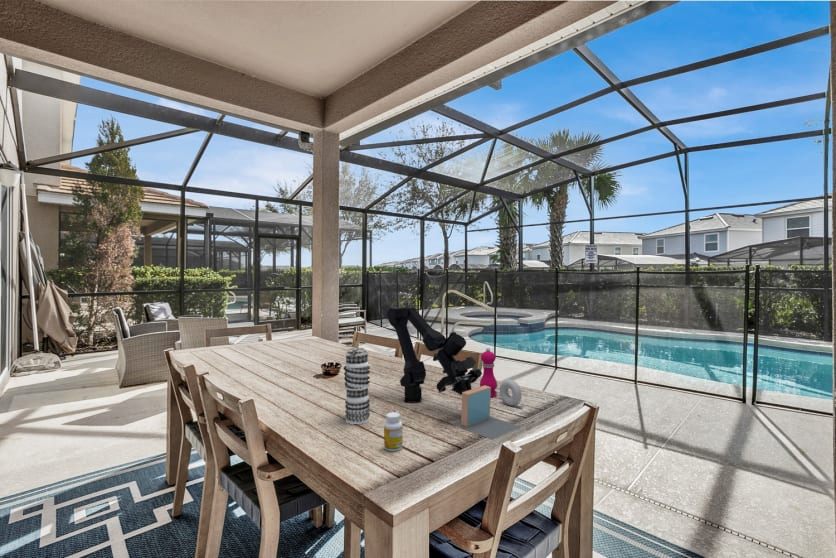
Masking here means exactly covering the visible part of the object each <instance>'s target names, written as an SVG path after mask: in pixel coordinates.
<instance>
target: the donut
mask: <svg viewBox="0 0 836 558" xmlns="http://www.w3.org/2000/svg"><path fill="white" fill-rule="evenodd" d="M499 385H500V386H499V396H500V398H501V400H502V402H504V403H505V404H506V405H507V406H511V407H515V406H518V405H519V403H520V402H521V399H522V396H523V395H522V390H521V387H520V385H519V383H517V382H516V381H515V380H513V379H508V378H507V379H505V380H503V381H502V382H501V384H499ZM509 389H510V391H511V393H512V395H510V394H509Z"/></svg>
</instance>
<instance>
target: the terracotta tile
mask: <svg viewBox="0 0 836 558" xmlns="http://www.w3.org/2000/svg"><path fill="white" fill-rule="evenodd" d="M490 394H491V387H489V386H486V385H484V386H481V387H480V386H478V387H475V388H472V389H471V390H468V391H465V392H462V395H461V417H460V418H461V419H460V421H461V425H463V426H465V427H469V426H472V425H474V424H477V423H479V422H482V421H484V420H487V419H489V418H490V416H491V397H490Z"/></svg>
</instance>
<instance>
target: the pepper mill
mask: <svg viewBox="0 0 836 558" xmlns="http://www.w3.org/2000/svg"><path fill="white" fill-rule="evenodd" d="M480 359H481V361H482V363H481V364H482V365H481V366H482V367H483V368H482V369H483V371H482V375H481V378H480V381H479V387H481V386H484V385H486V386H489V387H491V394H490V398H495V397H496V396H497V391H496V390H497V388H498V382H497V380H496V377H495V374H494V367H495V361H496V354H495V353H494V352H493V351H491V348H490V347H487V348H485V351H483V352H482V353H481V356H480Z"/></svg>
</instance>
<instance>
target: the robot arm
mask: <svg viewBox="0 0 836 558" xmlns="http://www.w3.org/2000/svg"><path fill="white" fill-rule="evenodd" d="M387 310H388V311H387V312H386V318H387V320H388V322H389V324H390V325H391V326H392V327H393V329H395V332H396V335H397V336H396V337H397V340H398V342H399V345H400V348H401V352H402V356H403V359H404V367H403V376H402V377H401V378H400V380H399V385H400V386H401V387H403V388H404V398H403V399H404V400H403V402H404V403H421V400H422V397H423V396H422V395H423V394H422V391H423V390H422V387H421V385H423V384H425V383H424V382H425V380H426V379H425V378H426V377H427V370H426V367H425V363H424V361H423V360H422V361H420V360H419V359H418V357H417V354H416V352H415V348H414V345H413V342H412V337H411V335H410V332H409V327H408V322H410V323H411V325H412V326H413V327H414V328H415V329H416V331H417V332H418V333H419V334H420V336H421V337H422V342H423V345H424V346H425V348H426V349H427V350H428V351H429V352H435V353H433V359H432V362H436V361H438V362H439V364H440V366H441V367H442V369H443V370H442V374H444V375H445V374H446V376H442V377H441V379H440V380H439V381H438V382H437V383H436V389H437V391H438V393H439V394H440V393H443V392H445V391H446V390H447V387H449V386H451V387H452V389H451V392H455V393H457V394H459V396H462V392H465V391H468V390H471V389H473V388H472V384H473V383H475V382H477V380H478V379H479V378H480V377H482V376H483V371H481V369H480V368H475V366H476V363H477V362H476V360H475V359H474V357H473V356H469V357H466V358H465V359H464V360H460V359H458V360H457V359H456V356H458V355H459V354H460V353H461V351H462V350H463V349H464V348H465V347H466V345H467V340H466V338H465V337H463V336H462V335H460V334H458V333H457V332H456V331H453V332H450V334H448V337H445V335H444V334H442V333H441V332H440V331H438V330H436V329H434V328H432V327H431V325H430V324H428V322H427V321H426V320H425V318H424V317H423V316H422V315H421V314H420V312H419V311H418V309H417V308H416V307H414V306H408V307H403V306H399V307H397V306H396V307H390V308H388V309H387ZM436 351H437V352H436Z"/></svg>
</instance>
